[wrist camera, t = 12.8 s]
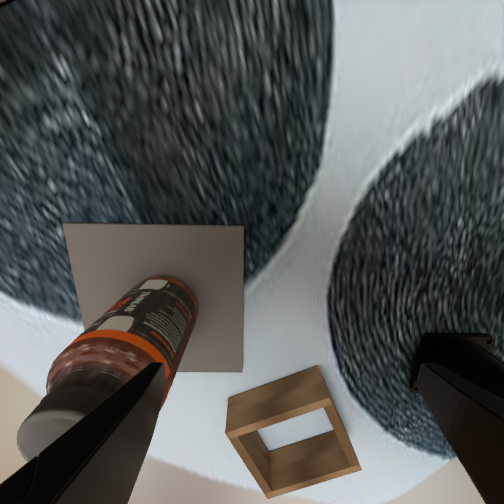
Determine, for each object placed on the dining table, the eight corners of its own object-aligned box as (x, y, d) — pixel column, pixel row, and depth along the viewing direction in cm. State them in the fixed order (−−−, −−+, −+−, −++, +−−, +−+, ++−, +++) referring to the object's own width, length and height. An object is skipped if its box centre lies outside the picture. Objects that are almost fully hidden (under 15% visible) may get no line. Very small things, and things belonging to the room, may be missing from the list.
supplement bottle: (144, 261, 19) (4, 366, 8) (211, 292, 20) (165, 424, 9) (120, 319, 20) (-26, 473, 10) (183, 345, 21) (115, 514, 10)
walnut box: (317, 365, 23) (329, 397, 19) (346, 431, 25) (361, 469, 22) (228, 397, 24) (225, 433, 20) (265, 458, 26) (267, 498, 23)
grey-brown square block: (243, 225, 19) (243, 226, 18) (242, 368, 23) (242, 372, 22) (67, 222, 18) (62, 223, 18) (96, 367, 22) (93, 371, 22)
